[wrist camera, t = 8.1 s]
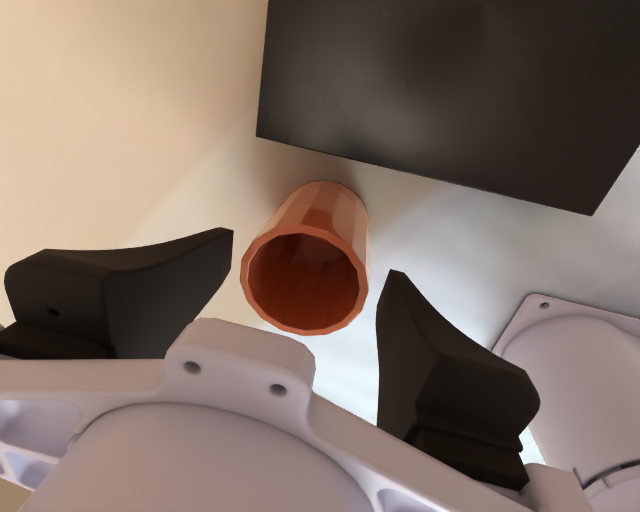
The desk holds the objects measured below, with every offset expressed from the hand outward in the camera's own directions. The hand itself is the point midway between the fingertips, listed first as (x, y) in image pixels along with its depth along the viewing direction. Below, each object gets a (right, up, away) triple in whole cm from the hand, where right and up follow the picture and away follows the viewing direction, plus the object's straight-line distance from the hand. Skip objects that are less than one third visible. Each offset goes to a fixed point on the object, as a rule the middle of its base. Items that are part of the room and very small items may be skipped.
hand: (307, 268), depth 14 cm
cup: (+1, +2, +5) cm, 6 cm away
